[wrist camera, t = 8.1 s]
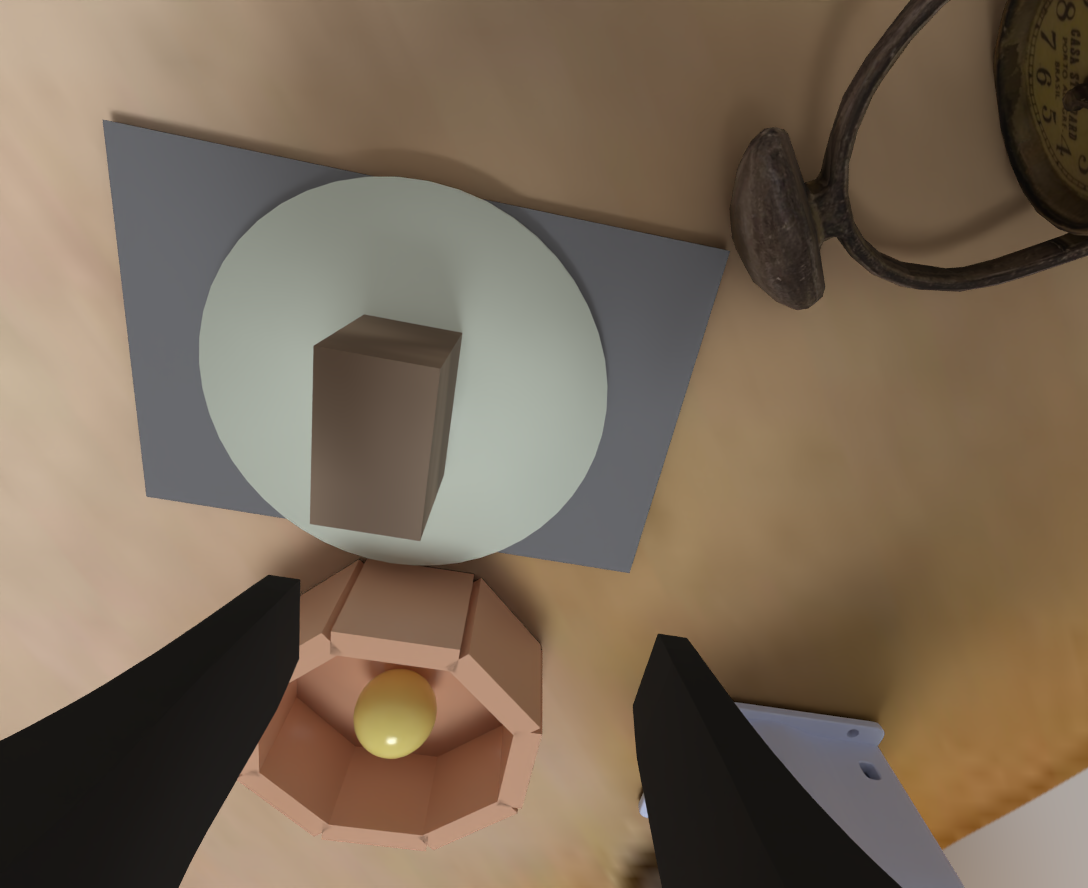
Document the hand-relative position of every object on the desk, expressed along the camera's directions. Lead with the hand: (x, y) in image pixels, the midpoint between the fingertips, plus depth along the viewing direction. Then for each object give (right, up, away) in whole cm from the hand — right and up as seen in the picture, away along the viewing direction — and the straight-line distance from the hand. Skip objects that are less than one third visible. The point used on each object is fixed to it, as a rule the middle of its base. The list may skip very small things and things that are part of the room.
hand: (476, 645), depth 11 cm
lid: (-3, +6, +7) cm, 10 cm away
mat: (-3, +6, +7) cm, 10 cm away
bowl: (-5, -6, +13) cm, 15 cm away
